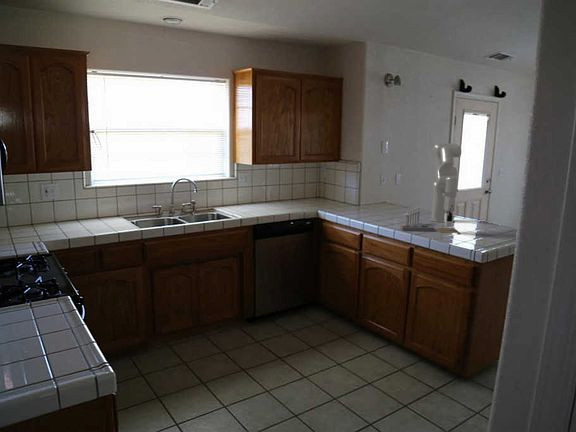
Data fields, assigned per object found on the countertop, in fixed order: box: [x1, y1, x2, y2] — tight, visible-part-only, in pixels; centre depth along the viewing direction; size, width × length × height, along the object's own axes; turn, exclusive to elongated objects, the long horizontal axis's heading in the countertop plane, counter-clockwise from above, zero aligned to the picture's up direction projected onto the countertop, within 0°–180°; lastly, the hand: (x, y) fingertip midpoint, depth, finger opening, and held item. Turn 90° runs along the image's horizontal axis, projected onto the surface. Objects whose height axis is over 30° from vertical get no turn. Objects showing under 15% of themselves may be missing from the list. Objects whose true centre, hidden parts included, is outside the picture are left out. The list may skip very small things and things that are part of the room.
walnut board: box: [435, 227, 461, 235], centre depth 309 cm, size 13×13×1 cm
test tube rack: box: [402, 206, 423, 225], centre depth 324 cm, size 25×4×13 cm, turn 142°
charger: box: [443, 212, 454, 227], centre depth 307 cm, size 4×4×10 cm
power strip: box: [400, 224, 436, 232], centre depth 310 cm, size 7×22×4 cm, turn 86°
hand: (448, 220), depth 307 cm, fingers closed on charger, 4 cm apart
